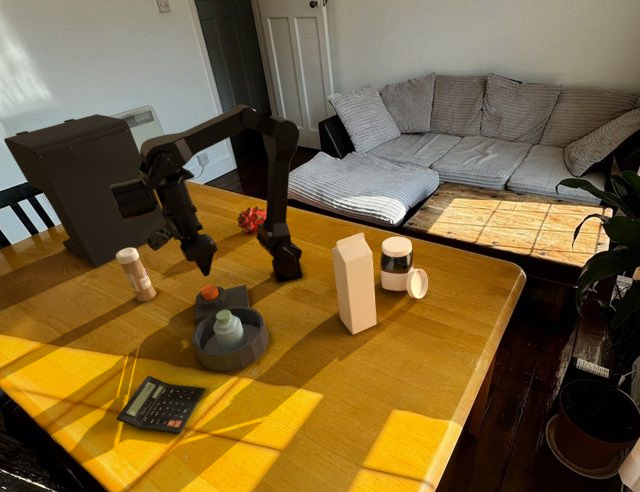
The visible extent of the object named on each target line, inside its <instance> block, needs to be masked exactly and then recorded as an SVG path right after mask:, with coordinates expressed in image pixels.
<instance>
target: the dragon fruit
mask: <svg viewBox="0 0 640 492" xmlns="http://www.w3.org/2000/svg"><path fill="white" fill-rule="evenodd" d="M266 213H267V208H262V209H261V208H260V206H258V205H257V206H255V207H254V208H252V206H250V207H247V208H246V210H245V209H242V210H241V212H240V213H239V215H238V217H237V223H238V227H239V228H241V232H242V233H250V234H253V233H254V232H256V233H257V234H258V229H257V224H263V223H264V221H265V219H266Z"/></svg>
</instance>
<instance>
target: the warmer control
mask: <svg viewBox="0 0 640 492" xmlns="http://www.w3.org/2000/svg"><path fill="white" fill-rule="evenodd" d="M215 286H216V287H217V289H218V292H219V295H218V297H216V298H215V299H212V300H205V299H203V296H202V293H201V290H200V291H199V292H198V293H197V295H195V305H194V321H195V324H196V326H198V324H199V323H200V322H201V321H203V320H204V319H205V318H206V317H207V316H209V315H210V314H213V313H215V312H217V311H219V310H221V309H225V308H229V307H234V306H239V307H249V308H251V307H250V301H249V300H250V299H249V289H248V287H247V284H242V285H237V286H234V287H230V288H224V287H222V286H218V285H215Z"/></svg>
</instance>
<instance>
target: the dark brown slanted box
mask: <svg viewBox="0 0 640 492" xmlns="http://www.w3.org/2000/svg"><path fill="white" fill-rule="evenodd" d="M3 141H4V143H5V145H6V147H7V149H8V150H9V152H10V154H11V156H12V157H13V159H14V161H15V163H16V165H17V166H18V168H19V170H20V171H21V173H22V175H23V176H24V178H25V180H26V181H27V183H28V184H29V185H30V186H31V187H33V188H35V189H37V190H40V191H42V192H43V193H44V195H45V197H46V198H47V200H48V202H49V204H50V206H51V207H52V209H53V211H54V213H55V215H56V216H57V218H58V221H59V222H60V224H61V225H62V228H63V229H64V231H65V232H66V234H67V236H68V239H65V240H63V241H62V244H63V247H64V248H65V251H67V252H68V253H71V254H72V255H74V256H75V257H77V258H79V259H80V260H82V261H84V262H85V263H86V264H89V265H91V266H92V267H94V268H96V269H97V268H99V267H100V266H103V265H104V264H107V263H109V262H110V261H113V260H114V259H117V258H116V254H117V253H118V252H119V251H121V250H123V249H126V248H135V249H136V248H138V247H140V246H143V245H144V244H147V243H146V242H144V241H143V239H142V237H141V236H140V232H141V231H142V230H143V229H144V228H146V227H147V226H149V225H150V224H151V223H153V222H154V221H155V220H158V219H159V218H161V217H162V213H161V211H162V209H161V208H162V206H161V203H160V201H159V198H158V196H157V193H156V190H155V189H154V190H152V191H153V194H154V196H155V198H156V201H157V204H158V205H155V206H156V209H155V210H154V212H151V213H148V214H145V215H142V216H139V217H135V218H132V219H129V220H126V221H124V220H123V218H122V216H121V214H120V212H119V210H118V208H117V206H116V204H115V202H114V197H113V194H112V192H111V190H110V188H109V186H110V185H113V184H117V183H124V182H127V181H131V180H135V179H138V177H137V172H138V169H139V166H140V163H141V160H142V158H141V156H140V149H139V148H138V145H137V143H136V140H135V138H134V136H133V132H132V130H131V128H130V125H129V123H128V122H127V120H126V119H123V118H118V117H113V116H108V115H104V114H103V115H102V114H99V113H95V114H92V115H87V116H84V117H80V118H77V119H75V118H70V119H65V120H63V122H61V123H57V124H54V125H50V126H45V127H42V128H38V129H34V130H31V131H28V130H23V131H19V132H17V133H15V135H13V136H12V135H11V136H7V137H5V138H3Z"/></svg>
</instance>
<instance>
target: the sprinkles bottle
mask: <svg viewBox="0 0 640 492" xmlns="http://www.w3.org/2000/svg"><path fill="white" fill-rule="evenodd" d="M115 259H116V260H117V262H118V263H119V265H120V266H121V268H122V270H123V272H124V273H123V274H124V275H125V277H126V279H127V281H128V284H129V285H130V287H131V289H132V291H133V292H134V294H135V296H136V300H137V301H138V302H147V301H150V300H152V299H153V298H155V296H156V294H157V293H156V290H155V289H154V287H153V284H152V282H151V280H150V279H151V278H150V277H149V275H148V273H147V271H146V269H145V267H144V265H143V263H142V261H141V259H140V255H139V252H138V250H137V249H136V248H126V249H123V250H121V251H119V252H118V253H117V254H116V258H115Z"/></svg>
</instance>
